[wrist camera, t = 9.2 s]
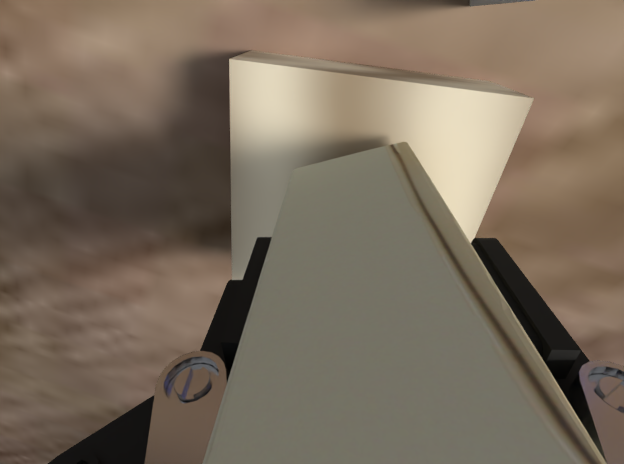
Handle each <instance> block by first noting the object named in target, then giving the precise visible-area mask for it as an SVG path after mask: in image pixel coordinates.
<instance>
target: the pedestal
mask: <svg viewBox="0 0 624 464" xmlns="http://www.w3.org/2000/svg"><path fill="white" fill-rule="evenodd" d="M229 79H230V160H231V241H232V280H243V277H244V274H245V271H246V268H247V265H248V262H249V260H250V257H251V254H252V251H253V248H254V245H255V242H256V239H257V237H272V235H273V232H274V228H275V225H276V222H277V218H278V215H279V212H280V209H281V205H282V202H283V199H284V196H285V193H286V189H287V186H288V183H289V179H290V176H291V173H292V171H293V170H295V169H297V168H301V167H304V166H308V165H312V164H316V163H320V162H323V161H327V160H331V159H335V158H339V157H343V156H347V155H351V154H354V153H358V152H362V151H366V150H370V149H375V148H379V147H383V146H387V145H392V144H396V143H400V142H407V143H408V144H409V146H410V147H411V149H412V150H413V152H414V153H415V155H416V157H417V158H418V160H419V161H420V163H421V165H422V166H423V168H424V169H425V171H426V173H427V174H428V175H429V177H430V178H431V180H432V182H433V183H434V185H435V187H436V188H437V190H438V191H439V193H440V195H441V196H442V198H443V200H444V201H445V203H446V205H447V206H448V208H449V209H450V211H451V212H452V214H453V216H454V217H455V219H456V220H457V222H458V224H459V225H460V227H461V228H462V230H463V232H464V233H465V235H466V237H467V238H468V240H469V241H470V243H471V242H472V240H473V239H474V238H475V235H476V233H477V231H478V228H479V226H480V224H481V221H482V219H483V217H484V214H485V212H486V210H487V207H488V205H489V203H490V200H491V198H492V196H493V193H494V191H495V189H496V186H497V184H498V181H499V179H500V177H501V174H502V172H503V170H504V167H505V165H506V163H507V160H508V158H509V156H510V153H511V151H512V149H513V146H514V144H515V142H516V139H517V137H518V135H519V132H520V130H521V128H522V125H523V123H524V121H525V118H526V116H527V114H528V111H529V109H530V107H531V104H532V102H533V100H534V98H532V97H529V96H527V95H524V94H522V93H519V92H516V91H514V90H511V89H509V88H506V87H504V86H501V85H498V84H496V83H493V82H491V81H484V80H476V79H469V78H461V77H453V76H446V75H438V74H430V73H422V72H415V71H407V70H399V69H392V68H384V67H376V66H368V65H361V64H353V63H345V62H338V61H330V60H322V59H314V58H307V57H299V56H291V55H284V54H276V53H268V52H260V51H253V50H251V51H248V52H246V53H243V54H241V55H238V56H235V57H233V58H230V59H229Z"/></svg>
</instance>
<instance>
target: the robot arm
mask: <svg viewBox="0 0 624 464" xmlns="http://www.w3.org/2000/svg"><path fill="white" fill-rule="evenodd" d="M271 238H272V237H257V239H256V242H255V245H254V248H253V251H252V254H251V257H250V260H249V262H248V265H247V268H246V271H245V274H244V277H243V280H230V281H228V283H227V285H226V288H225V290H224V293H223V295H222V298H221V300H220V303H219V305H218V308H217V310H216V313H215V315H214V318H213V320H212V323H211V325H210V328H209V330H208V333H207V335H206V338H205V340H204V343H203V345H202V348H201V350H200V351H196V352H191V353H188V354H185V355H182V356H180V357H179V358H177V359H175V360H173V361H172V362H171V363H170V364H169V365H168V366H167V367H166V368H165V369H164V370H163V372H162V373H161V375H160V376H159V378H158V381H157V384H156V388H155V395H154V396H152V397H151V398H149V399H147V400H146V401H144V402H143V403H141V404H139V405H138V406H136V407H135V408H133V409H131V410H130V411H128V412H127V413H125V414H124V415H122V416H120V417H119V418H117V419H116V420H114V421H112V422H111V423H109V424H108V425H106V426H105V427H103V428H101V429H100V430H98V431H97V432H95V433H93V434H92V435H90V436H89V437H87V438H86V439H84V440H82V441H81V442H79V443H78V444H76V445H74V446H73V447H71V448H70V449H68V450H67V451H65V452H63V453H62V454H60V455H59V456H57V457H56V458H55V459H53V460H52V461H51V462H49V463H48V464H202V463H203V460H204V457H205V454H206V450H207V447H208V444H209V441H210V437H211V434H212V431H213V428H214V424H215V421H216V418H217V415H218V411H219V408H220V405H221V401H222V398H223V395H224V392H225V388H226V385H227V382H228V378H229V375H230V372H231V368H232V365H233V362H234V359H235V355H236V352H237V349H238V345H239V342H240V339H241V336H242V332H243V329H244V326H245V323H246V320H247V316H248V313H249V310H250V307H251V304H252V301H253V297H254V294H255V291H256V287H257V284H258V280H259V277H260V274H261V271H262V268H263V264H264V261H265V258H266V255H267V252H268V249H269V245H270V242H271ZM471 245H472V246H473V248H474V250H475V251H476V253H477V254H478V256H479V258H480V259H481V261H482V263H483V264H484V266H485V268H486V269H487V271H488V272H489V274H490V276H491V277H492V279H493V281H494V282H495V284H496V286H497V287H498V289H499V290H500V292H501V294H502V295H503V297H504V299H505V300H506V302H507V303H508V305H509V307H510V308H511V310H512V311H513V313H514V314H515V316H516V318H517V319H518V321H519V322H520V324H521V326H522V327H523V329H524V330H525V332H526V334H527V335H528V337H529V338H530V340H531V341H532V343H533V345H534V346H535V348H536V349H537V351H538V353H539V354H540V356H541V357H542V359H543V361H544V362H545V364H546V365H547V367H548V369H549V370H550V372H551V374H552V375H553V377H554V379H555V380H556V382H557V384H558V385H559V387H560V389H561V390H562V392H563V393H564V395H565V397H566V398H567V400H568V402H569V403H570V405H571V406H572V408H573V410H574V411H575V413H576V415H577V416H578V418H579V420H580V421H581V423H582V424H583V426H584V428H585V429H586V431H587V433H588V434H589V436H590V437H591V439H592V441H593V442H594V444H595V446H596V447H597V449H598V450H599V452H600V454H601V455H602V457H603V459H604V460H605V462H606V463H607V464H624V366H622V365H619V364H615V363H612V362H608V361H600V360H597V361H589V360H588V358H587V357H586V356H585V354H584V353H583V352H582V350H581V349H580V348H579V346H578V345H577V344H576V343H575V341H574V340H573V339H572V337H571V336H570V335H569V333H568V332H567V331H566V329H565V328H564V327H563V325H562V324H561V323H560V321H559V320H558V319H557V317H556V316H555V315H554V313H553V312H552V311H551V309H550V308H549V307H548V306H547V304H546V303H545V302H544V300H543V299H542V298H541V296H540V295H539V294H538V292H537V291H536V290H535V288H534V287H533V286H532V285H531V283H530V282H529V281H528V279H527V278H526V277H525V275H524V274H523V273H522V271H521V270H520V269H519V267H518V266H517V265H516V263H515V262H514V261H513V259H512V258H511V257H510V256H509V254H508V253H507V252H506V250H505V249H504V248H503V246H502V245H501V244H500V242H499V241H498V240H497V239H495V238H474V239H473V240H472V242H471Z"/></svg>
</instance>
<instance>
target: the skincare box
mask: <svg viewBox="0 0 624 464" xmlns="http://www.w3.org/2000/svg"><path fill="white" fill-rule="evenodd" d="M202 464H607V463H606V462H605V460H604V459H603V457H602V455H601V454H600V452H599V450H598V449H597V447H596V446H595V444H594V442H593V441H592V439H591V437H590V436H589V434H588V433H587V431H586V429H585V428H584V426H583V424H582V423H581V421H580V420H579V418H578V416H577V415H576V413H575V411H574V410H573V408H572V406H571V405H570V403H569V402H568V400H567V398H566V397H565V395H564V393H563V392H562V390H561V389H560V387H559V385H558V384H557V382H556V380H555V379H554V377H553V375H552V374H551V372H550V370H549V369H548V367H547V365H546V364H545V362H544V361H543V359H542V357H541V356H540V354H539V353H538V351H537V349H536V348H535V346H534V345H533V343H532V341H531V340H530V338H529V337H528V335H527V334H526V332H525V330H524V329H523V327H522V326H521V324H520V322H519V321H518V319H517V318H516V316H515V314H514V313H513V311H512V310H511V308H510V307H509V305H508V303H507V302H506V300H505V299H504V297H503V295H502V294H501V292H500V290H499V289H498V287H497V286H496V284H495V282H494V281H493V279H492V277H491V276H490V274H489V272H488V271H487V269H486V268H485V266H484V264H483V263H482V261H481V259H480V258H479V256H478V254H477V253H476V251H475V250H474V248H473V246H472V245H471V243H470V241H469V240H468V238H467V237H466V235H465V233H464V232H463V230H462V228H461V227H460V225H459V224H458V222H457V220H456V219H455V217H454V216H453V214H452V212H451V211H450V209H449V208H448V206H447V205H446V203H445V201H444V200H443V198H442V196H441V195H440V193H439V191H438V190H437V188H436V187H435V185H434V183H433V182H432V180H431V178H430V177H429V175H428V174H427V173H426V171H425V169H424V168H423V166H422V165H421V163H420V161H419V160H418V158H417V157H416V155H415V153H414V152H413V150H412V149H411V147H410V146H409V144H408V143H407V142H400V143H396V144H392V145H387V146H383V147H379V148H375V149H370V150H366V151H362V152H358V153H354V154H351V155H347V156H343V157H339V158H335V159H331V160H327V161H323V162H320V163H316V164H312V165H308V166H304V167H301V168H297V169H295V170H293V171H292V173H291V176H290V179H289V183H288V186H287V189H286V193H285V196H284V199H283V202H282V205H281V209H280V212H279V215H278V218H277V222H276V225H275V228H274V232H273V235H272V238H271V242H270V245H269V249H268V252H267V255H266V258H265V261H264V264H263V268H262V271H261V274H260V277H259V280H258V284H257V287H256V291H255V294H254V297H253V301H252V304H251V307H250V310H249V313H248V316H247V320H246V323H245V326H244V329H243V332H242V336H241V339H240V342H239V345H238V349H237V352H236V355H235V359H234V362H233V365H232V368H231V372H230V375H229V378H228V382H227V385H226V388H225V392H224V395H223V398H222V401H221V405H220V408H219V411H218V415H217V418H216V421H215V424H214V428H213V431H212V434H211V437H210V441H209V444H208V447H207V450H206V454H205V457H204V460H203V463H202Z"/></svg>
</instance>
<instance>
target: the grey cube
mask: <svg viewBox="0 0 624 464" xmlns="http://www.w3.org/2000/svg"><path fill="white" fill-rule="evenodd" d="M523 1H533V0H470V6H480V5H490V4H501V3H512V2H523Z"/></svg>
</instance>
